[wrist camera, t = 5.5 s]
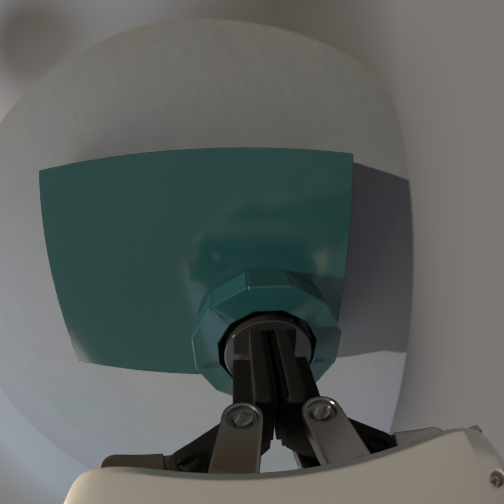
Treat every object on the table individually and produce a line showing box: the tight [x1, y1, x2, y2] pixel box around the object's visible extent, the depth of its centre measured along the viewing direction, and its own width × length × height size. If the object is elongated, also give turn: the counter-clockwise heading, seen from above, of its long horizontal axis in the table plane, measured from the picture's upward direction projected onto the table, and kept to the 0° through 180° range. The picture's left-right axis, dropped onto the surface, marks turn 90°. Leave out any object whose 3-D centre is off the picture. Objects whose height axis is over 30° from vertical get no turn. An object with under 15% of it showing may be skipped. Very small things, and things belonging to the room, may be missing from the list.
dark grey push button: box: [224, 311, 311, 375], centre depth 13 cm, size 4×4×2 cm
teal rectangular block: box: [39, 148, 353, 396], centre depth 13 cm, size 16×12×5 cm
